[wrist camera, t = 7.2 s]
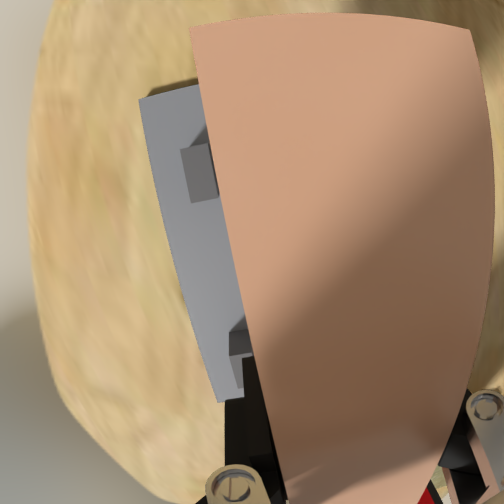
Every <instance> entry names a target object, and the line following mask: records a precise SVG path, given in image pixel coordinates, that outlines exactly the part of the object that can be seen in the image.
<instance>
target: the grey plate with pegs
mask: <svg viewBox="0 0 504 504" xmlns="http://www.w3.org/2000/svg"><path fill="white" fill-rule="evenodd" d="M138 100H139V106H140V112H141V117H142V123H143V128H144V134H145V139H146V144H147V149H148V154H149V159H150V164H151V169H152V174H153V178H154V183H155V188H156V192H157V196H158V201H159V205H160V209H161V214H162V218H163V222H164V226H165V230H166V234H167V238H168V242H169V246H170V250H171V254H172V257H173V261H174V265H175V269H176V272H177V276H178V279H179V283H180V287H181V290H182V294H183V297H184V300H185V304H186V307H187V311H188V314H189V317H190V321H191V324H192V327H193V330H194V333H195V337H196V340H197V343H198V346H199V349H200V352H201V355H202V358H203V361H204V364H205V367H206V370H207V373H208V376H209V379H210V382H211V385H212V388H213V391H214V393H215V396H216V399H217V402H218V403H219V402H225V400H227V399H234V398H240V397H244V386H243V371H242V358H244V357H250V356H254V352H253V348H252V344H251V339H250V335H249V330H248V325H247V321H246V316H245V312H244V307H243V303H242V298H241V293H240V289H239V284H238V279H237V274H236V270H235V265H234V260H233V255H232V251H231V246H230V241H229V236H228V231H227V226H226V222H225V217H224V212H223V207H222V202H221V197H220V192H219V187H218V182H217V177H216V172H215V166H214V161H213V156H212V151H211V146H210V141H209V135H208V130H207V125H206V120H205V114H204V109H203V103H202V98H201V93H200V87H199V84H197V85H193V86H188V87H184V88H180V89H176V90H172V91H168V92H164V93H160V94H156V95H153V96H149V97H145V98H142V99H138Z"/></svg>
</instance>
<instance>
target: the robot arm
mask: <svg viewBox="0 0 504 504" xmlns="http://www.w3.org/2000/svg"><path fill="white" fill-rule="evenodd" d="M242 371H243V386H244V397H240V398H234V399H227V400H225V466H224V467H222V468H219V469H218V470H216V471H215V472H213V473H212V474H211V476H210V477H209V478H208V480H207V482H206V485H205V491H206V495H205V496H204V497H203V498H202V499H201V500H199V501H198V502H197V503H196V504H286V500H288V496H287V492H286V488H285V484H284V480H283V476H282V472H281V468H280V464H279V460H278V455H277V451H276V447H275V443H274V439H273V435H272V430H271V426H270V422H269V418H268V414H267V409H266V405H265V401H264V396H263V392H262V388H261V383H260V379H259V375H258V370H257V366H256V361H255V357H254V356H250V357H244V358H242ZM438 466H439V467H442V471H443V474H444V477H445V481H446V484H447V488H448V492H449V495H450V499H451V502H452V504H504V397H503V396H502V395H501V394H500V393H498V392H496V391H493V390H481V391H477V392H475V393H473V394H471V392H470V391H469V390H468V389H466V392H465V395H464V398H463V401H462V404H461V407H460V410H459V413H458V416H457V418H456V421H455V424H454V426H453V429H452V431H451V434H450V436H449V439H448V441H447V444H446V446H445V448H444V451H443V453H442V455H441V458H440V460H439V462H438Z"/></svg>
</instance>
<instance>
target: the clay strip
mask: <svg viewBox="0 0 504 504" xmlns="http://www.w3.org/2000/svg"><path fill="white" fill-rule="evenodd" d="M189 30H190V36H191V42H192V48H193V54H194V59H195V65H196V70H197V76H198V82H199V87H200V93H201V98H202V103H203V109H204V114H205V120H206V125H207V130H208V135H209V141H210V146H211V151H212V156H213V161H214V166H215V172H216V177H217V182H218V187H219V192H220V197H221V202H222V207H223V212H224V217H225V222H226V226H227V231H228V236H229V241H230V246H231V251H232V255H233V260H234V265H235V270H236V274H237V279H238V284H239V289H240V293H241V298H242V303H243V307H244V312H245V316H246V321H247V325H248V330H249V335H250V339H251V344H252V348H253V352H254V357H255V361H256V366H257V370H258V375H259V379H260V383H261V388H262V392H263V396H264V401H265V405H266V409H267V414H268V418H269V422H270V426H271V430H272V435H273V439H274V443H275V447H276V451H277V455H278V460H279V464H280V468H281V472H282V476H283V480H284V484H285V488H286V492H287V496H288V500H289V504H417V503H418V501H419V500H420V498H421V496H422V494H423V492H424V490H425V488H426V486H427V485H428V483H429V481H430V479H431V477H432V475H433V473H434V470H435V468H436V466H437V464H438V462H439V460H440V458H441V455H442V453H443V451H444V448H445V446H446V444H447V441H448V439H449V436H450V434H451V431H452V429H453V426H454V424H455V421H456V418H457V416H458V413H459V410H460V407H461V404H462V401H463V398H464V395H465V392H466V389H467V385H468V382H469V379H470V375H471V372H472V368H473V364H474V361H475V357H476V353H477V348H478V344H479V340H480V335H481V331H482V326H483V320H484V315H485V309H486V303H487V297H488V290H489V283H490V275H491V266H492V255H493V241H494V219H495V184H494V162H493V149H492V138H491V129H490V121H489V114H488V107H487V101H486V95H485V90H484V85H483V80H482V75H481V71H480V66H479V62H478V58H477V54H476V50H475V46H474V43H473V39H472V36H471V32H470V30H468V29H464V28H460V27H455V26H451V25H446V24H441V23H436V22H430V21H424V20H418V19H411V18H404V17H395V16H386V15H374V14H358V13H296V14H280V15H268V16H258V17H249V18H241V19H234V20H228V21H221V22H216V23H210V24H205V25H200V26H195V27H190V28H189Z"/></svg>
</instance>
